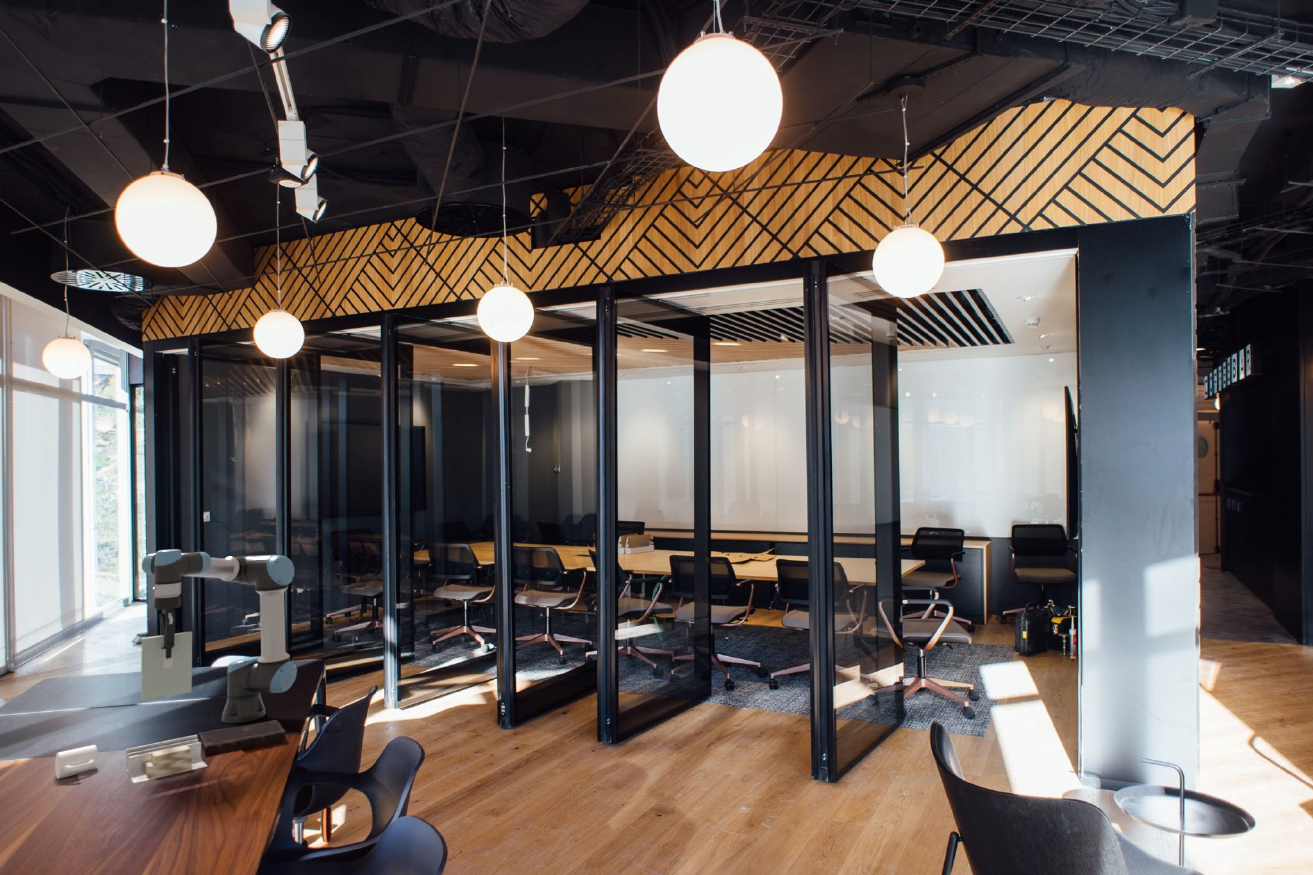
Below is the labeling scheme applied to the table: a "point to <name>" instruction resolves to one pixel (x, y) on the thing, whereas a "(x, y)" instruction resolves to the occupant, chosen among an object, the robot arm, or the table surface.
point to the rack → (143, 753)
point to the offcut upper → (170, 755)
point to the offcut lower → (167, 767)
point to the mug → (76, 761)
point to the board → (169, 679)
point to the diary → (243, 737)
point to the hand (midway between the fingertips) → (167, 666)
